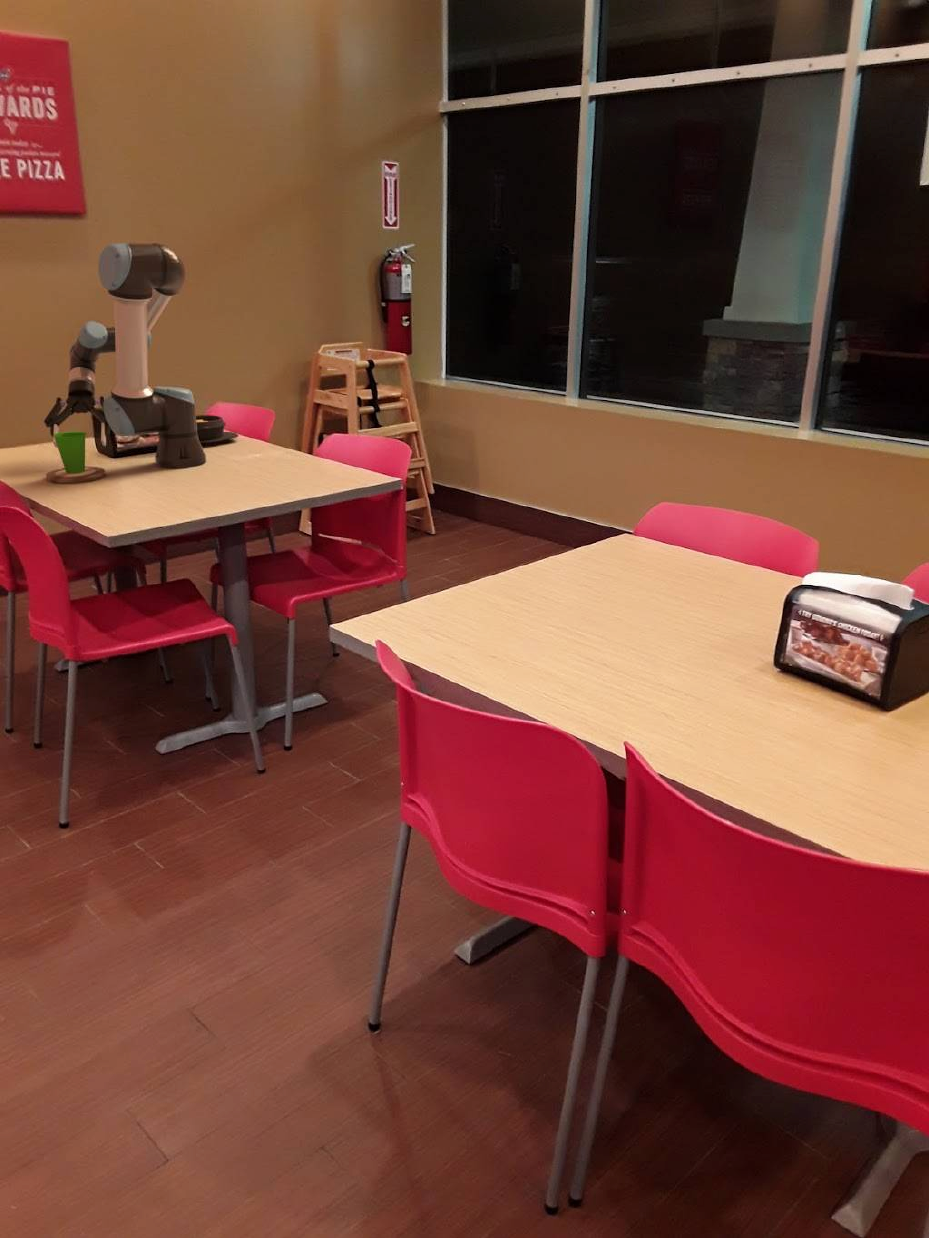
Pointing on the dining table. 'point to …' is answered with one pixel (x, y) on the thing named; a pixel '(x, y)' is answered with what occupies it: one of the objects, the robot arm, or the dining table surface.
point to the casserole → (212, 430)
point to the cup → (72, 450)
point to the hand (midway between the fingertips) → (79, 444)
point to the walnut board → (75, 476)
